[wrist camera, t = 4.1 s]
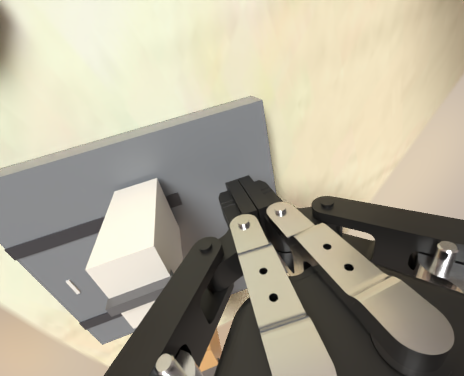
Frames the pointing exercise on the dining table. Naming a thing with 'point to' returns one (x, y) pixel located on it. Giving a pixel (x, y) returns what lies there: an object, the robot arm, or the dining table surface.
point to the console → (119, 177)
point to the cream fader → (135, 250)
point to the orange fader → (211, 356)
